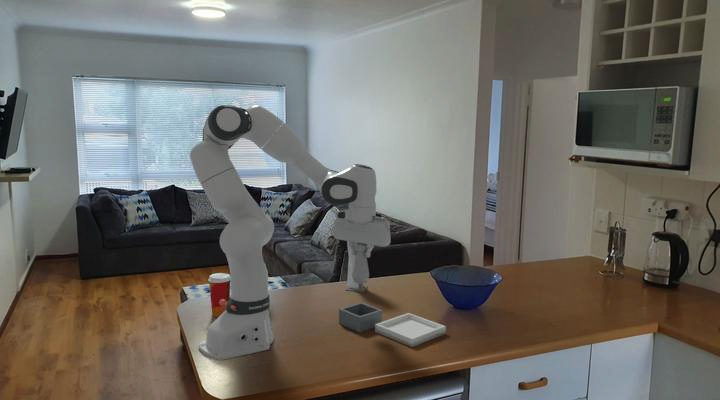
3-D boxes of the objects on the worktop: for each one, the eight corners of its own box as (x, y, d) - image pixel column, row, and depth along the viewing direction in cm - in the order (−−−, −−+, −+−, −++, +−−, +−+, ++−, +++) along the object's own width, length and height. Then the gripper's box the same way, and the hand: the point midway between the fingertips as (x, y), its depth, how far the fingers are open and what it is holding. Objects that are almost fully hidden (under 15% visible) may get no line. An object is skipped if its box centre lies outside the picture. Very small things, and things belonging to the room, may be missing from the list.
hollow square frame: (359, 332, 177) (359, 317, 176) (338, 323, 184) (339, 309, 184) (382, 324, 184) (382, 310, 183) (361, 316, 191) (361, 302, 190)
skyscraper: (342, 289, 220) (342, 221, 216) (349, 284, 228) (349, 217, 224) (362, 292, 217) (363, 222, 213) (368, 286, 225) (369, 219, 221)
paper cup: (220, 309, 196) (219, 271, 194) (236, 313, 192) (235, 274, 190) (204, 316, 189) (202, 276, 187) (220, 320, 186) (219, 280, 183)
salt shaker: (372, 282, 181) (373, 244, 179) (358, 285, 178) (359, 246, 176) (361, 278, 186) (362, 240, 184) (348, 280, 182) (349, 242, 180)
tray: (411, 347, 166) (412, 339, 166) (374, 331, 178) (375, 324, 177) (445, 333, 177) (445, 326, 176) (408, 319, 188) (408, 312, 188)
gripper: (394, 216, 176) (393, 258, 178) (341, 209, 186) (340, 249, 188) (385, 219, 170) (383, 262, 173) (330, 212, 181) (330, 253, 183)
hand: (360, 255), depth 181 cm, fingers closed on salt shaker, 3 cm apart
